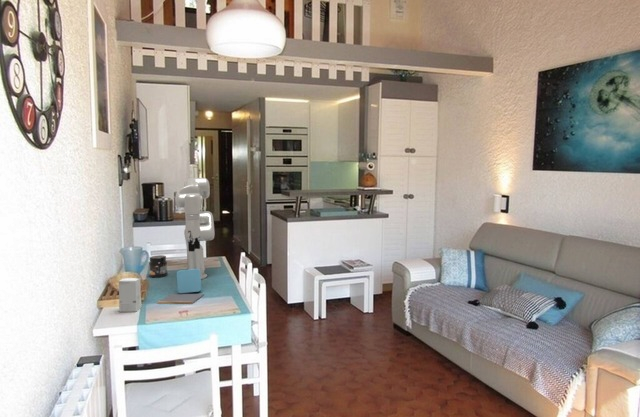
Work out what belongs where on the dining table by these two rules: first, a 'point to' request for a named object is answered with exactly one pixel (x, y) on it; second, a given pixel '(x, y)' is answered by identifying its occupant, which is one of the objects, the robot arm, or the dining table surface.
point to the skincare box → (129, 294)
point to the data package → (188, 281)
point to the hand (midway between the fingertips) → (194, 249)
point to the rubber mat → (183, 297)
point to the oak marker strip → (174, 302)
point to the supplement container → (158, 266)
